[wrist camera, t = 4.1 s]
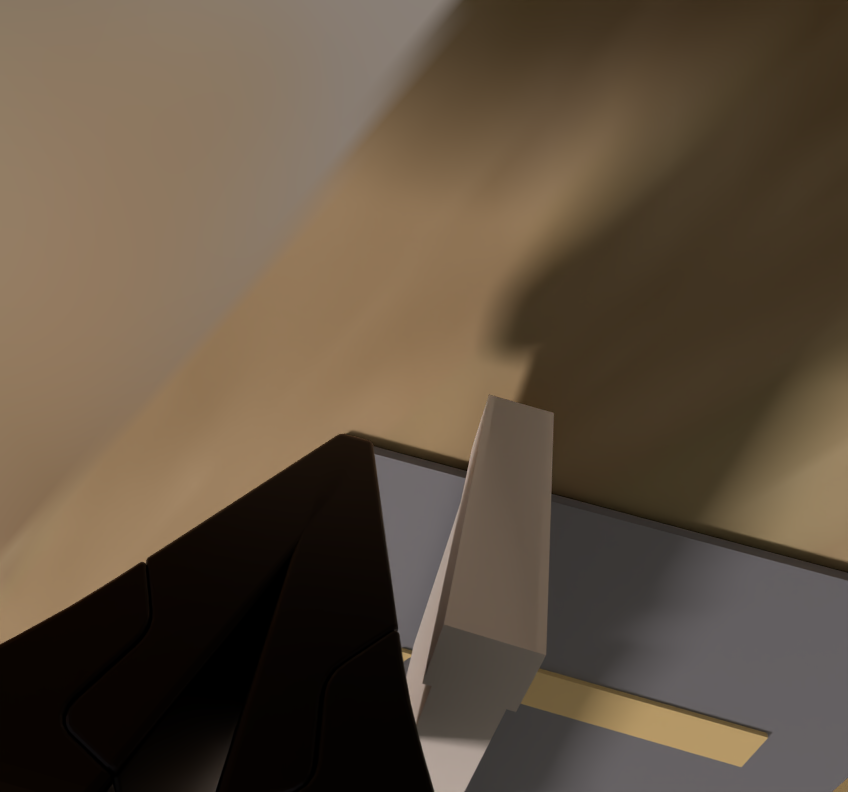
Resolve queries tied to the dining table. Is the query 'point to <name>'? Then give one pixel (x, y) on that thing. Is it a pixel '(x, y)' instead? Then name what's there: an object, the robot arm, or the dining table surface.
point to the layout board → (648, 652)
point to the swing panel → (486, 595)
